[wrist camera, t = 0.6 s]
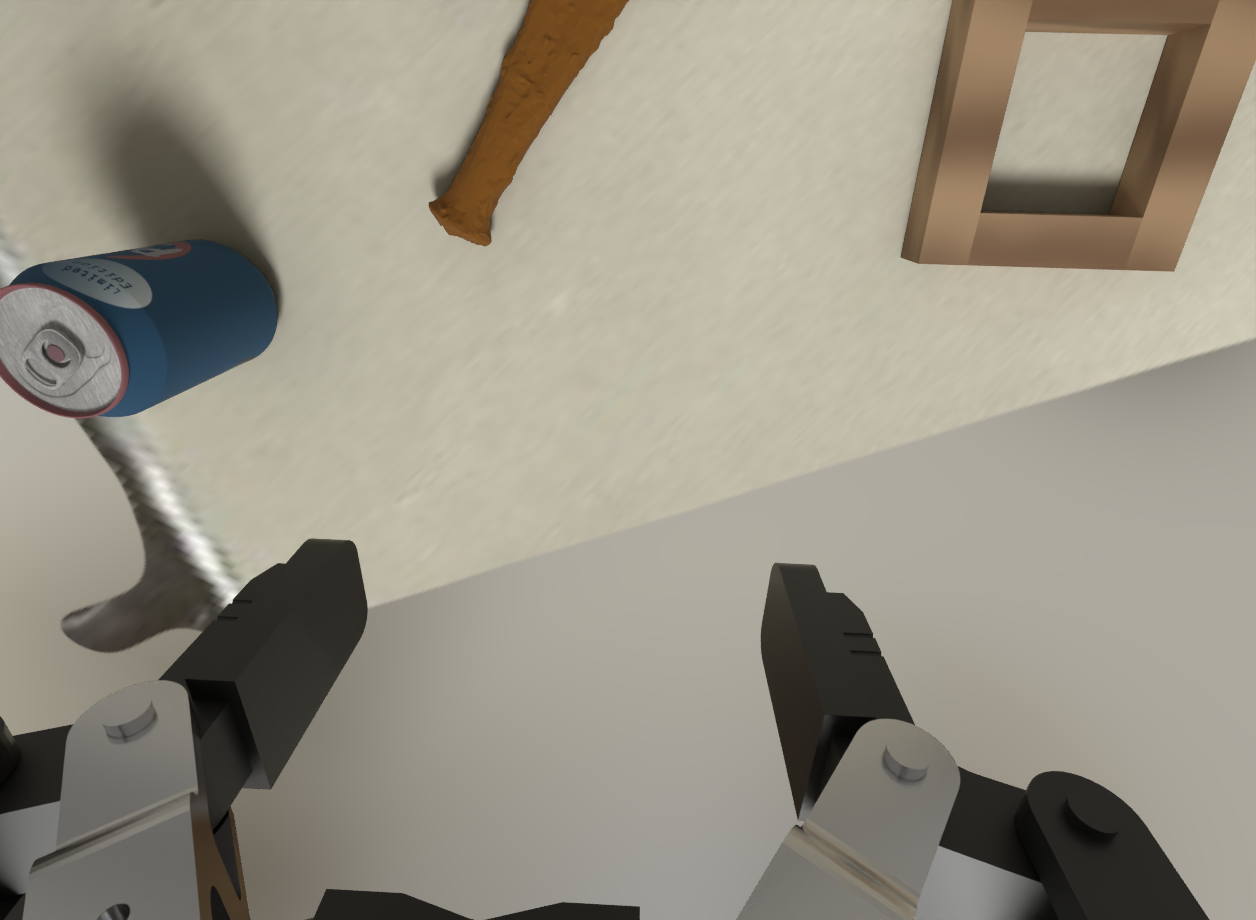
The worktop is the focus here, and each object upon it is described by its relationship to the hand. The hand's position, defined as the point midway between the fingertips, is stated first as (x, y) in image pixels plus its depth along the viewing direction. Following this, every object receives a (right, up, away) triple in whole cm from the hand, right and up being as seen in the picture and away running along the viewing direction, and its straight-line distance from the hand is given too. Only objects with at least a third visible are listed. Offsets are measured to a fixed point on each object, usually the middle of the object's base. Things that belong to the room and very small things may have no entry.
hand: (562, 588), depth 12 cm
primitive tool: (-3, +23, +19) cm, 30 cm away
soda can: (-22, +12, +25) cm, 35 cm away
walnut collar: (+23, +19, +19) cm, 36 cm away
